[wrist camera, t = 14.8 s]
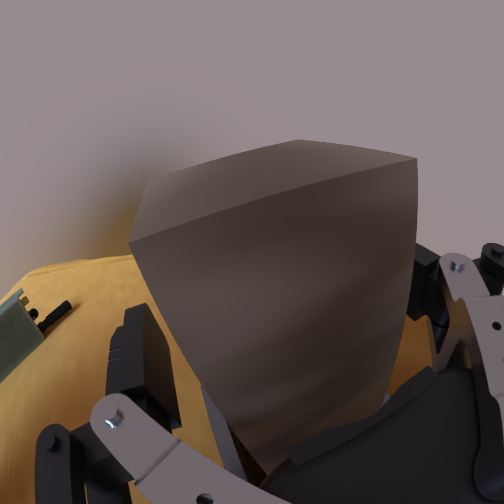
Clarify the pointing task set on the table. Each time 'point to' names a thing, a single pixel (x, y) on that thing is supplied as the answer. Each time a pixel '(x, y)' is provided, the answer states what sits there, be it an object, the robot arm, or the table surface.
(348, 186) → the block
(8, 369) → the handheld radio
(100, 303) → the table surface
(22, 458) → the table surface
